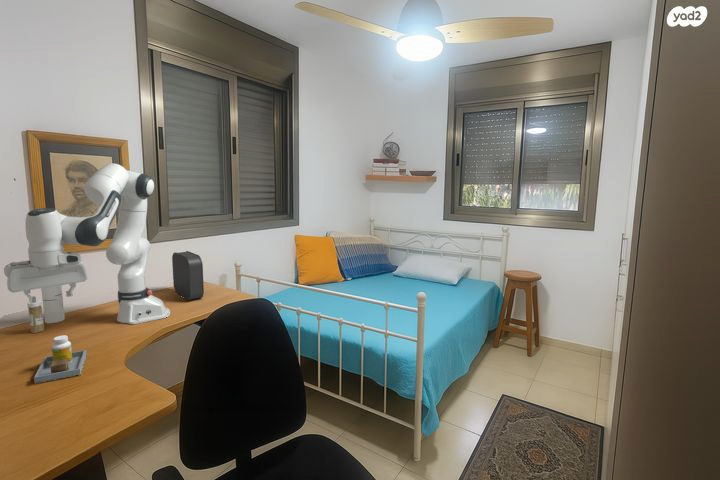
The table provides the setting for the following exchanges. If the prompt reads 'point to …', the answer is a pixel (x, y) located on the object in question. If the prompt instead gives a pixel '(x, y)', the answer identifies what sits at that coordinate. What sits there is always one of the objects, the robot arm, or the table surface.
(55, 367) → the walnut block
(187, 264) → the speaker
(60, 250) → the robot arm
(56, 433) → the table surface
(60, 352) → the supplement bottle
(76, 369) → the tray
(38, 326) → the sprinkles bottle
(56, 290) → the cylindrical container
